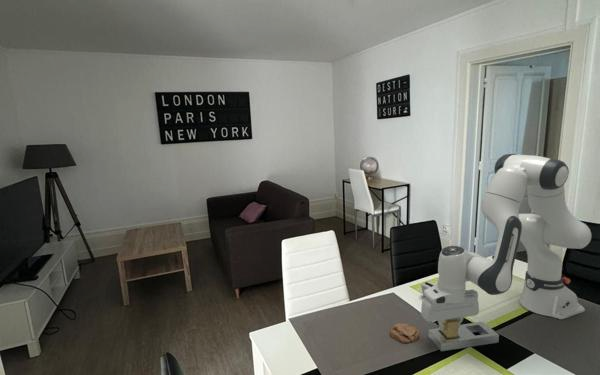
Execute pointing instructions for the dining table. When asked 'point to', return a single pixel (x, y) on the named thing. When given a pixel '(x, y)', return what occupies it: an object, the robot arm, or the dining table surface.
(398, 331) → the cookie
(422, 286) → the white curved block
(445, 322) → the wood grain block
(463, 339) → the grey shape sorter tray
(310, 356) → the dining table surface
